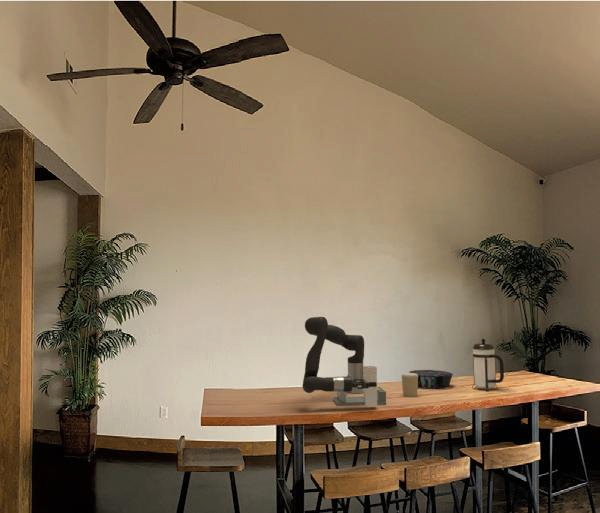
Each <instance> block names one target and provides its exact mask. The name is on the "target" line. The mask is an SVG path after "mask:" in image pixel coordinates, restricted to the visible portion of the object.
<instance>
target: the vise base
mask: <svg viewBox="0 0 600 513" xmlns="http://www.w3.org/2000/svg"><path fill="white" fill-rule="evenodd" d="M332 401H333V402H334V403H336V404H335V406H337V407H339V406H341V407H342V406H344V407H346V406H365V405H364V395H362V396H346V402H340V401H339V399H338V398H337V396H333V398H332ZM385 404H386V405H387V391H386V390H385V389H384V388H382V387H381V386H377V406H378V405H379V406H381V405H383V406H384V405H385Z"/></svg>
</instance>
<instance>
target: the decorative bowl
mask: <svg viewBox="0 0 600 513" xmlns="http://www.w3.org/2000/svg"><path fill="white" fill-rule="evenodd" d="M408 373H415V374H418V388H420V389H428V390H429V389H432V390H434V389H438V390H439V389H447V388H449V387H450V384H451V380H452V378H453V376H454V373H452V372H450V371H445V370H439V369H437V370H435V369H415V370H410V371H408Z"/></svg>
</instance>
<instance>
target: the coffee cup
mask: <svg viewBox="0 0 600 513" xmlns="http://www.w3.org/2000/svg"><path fill="white" fill-rule="evenodd" d="M400 376H401V385H402V395H403V397H407V398H416V397H418V388H419V387H418V374H415V373H409V372H405V373H403V372H402V373H401V375H400Z"/></svg>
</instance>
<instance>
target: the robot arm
mask: <svg viewBox="0 0 600 513" xmlns="http://www.w3.org/2000/svg"><path fill="white" fill-rule="evenodd" d="M304 328H305V331H306V333H308V334H309V335H311V336H314V337H316V338H315V341H314V342H313V344H312V347H311V348H310V349H309V351H308V352H307V355H306V358H305V367H304V374H303V380H302V390H303V392H305V393H306V394H312V393H313V392H315V391H322V392H329V393H331V392H335V393H337V392H346V393H350V394H364V388H369V387H376V386H377V387H378V382H377V383H376V382H365V381H363V366H364V358H365V339H364V337H363V336H362V335H360V334H359V335H358V334H357V335H356V334H346V332H345V330H344V329H343V328H341V327H339V326H336V325H333V324H329V322H328V320H327V318H326V317H324V316H315V317H309V318H307V319H306V320H305V322H304ZM326 340H327V341H329V342H330V343H332V344H335V345H337V346H338V345H339V346H341V347H342V348H345V350H347V351H349V352H351V351H353V352H354V355H352V356H349V357H347V375H346V376H334V377H333V376H331V377H328V376H327V377H324V376H323V377H321V376H318V373H319V369H320V361H321V355H322V351H323V347H324V344H325V341H326ZM365 384H366V386H365Z"/></svg>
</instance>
